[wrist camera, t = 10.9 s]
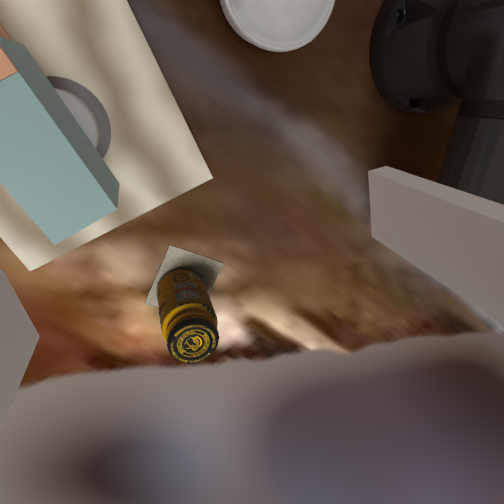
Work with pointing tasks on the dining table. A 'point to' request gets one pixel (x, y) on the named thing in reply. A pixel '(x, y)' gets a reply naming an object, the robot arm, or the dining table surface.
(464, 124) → the robot arm
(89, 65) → the post base
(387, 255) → the dining table surface
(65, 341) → the dining table surface
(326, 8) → the ramekin
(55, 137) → the teal block on base
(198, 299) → the condiment
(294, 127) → the dining table surface
